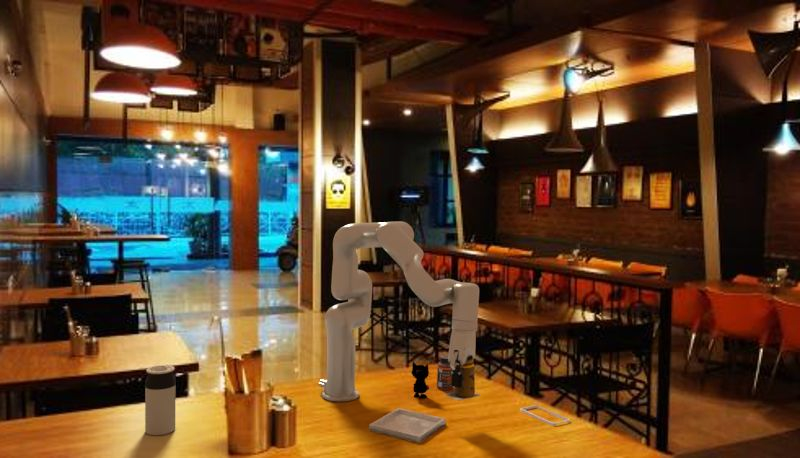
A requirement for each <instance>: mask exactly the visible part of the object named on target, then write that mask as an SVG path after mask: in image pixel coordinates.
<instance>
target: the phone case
mask: <svg viewBox="0 0 800 458" xmlns="http://www.w3.org/2000/svg"><path fill="white" fill-rule="evenodd" d="M532 409H539V410H544V411H546V412H548V414H550V415H552V416H553V417H556V418H560V419H562V420H561V421H557V422H553V421H550V420H547V419H546V418H543V417H542V416H539V415H536V414H534V413H532V412H531V411H528V410H532ZM519 410H520V413H523V414H525V415H528V416H530V417H532V418H534V419H537V420H539V421H541V422H543V423H545V424H547V425H550V426H551V427H557V426H558V424H562V423H567V424H568V423H569V424H570V423H571V422H570V421H571V420H570V418H568V417H565V416H563V415H561V414H558V413H556V412H554V411H551V410H549V409H547V408H544V407H542V406H539V405H536V404H534V405H529V406H525V407H520V409H519Z"/></svg>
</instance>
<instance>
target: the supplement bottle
mask: <svg viewBox="0 0 800 458" xmlns="http://www.w3.org/2000/svg"><path fill="white" fill-rule="evenodd" d="M448 356H449V355H440V361H438V363H437V370H436V371H437V373H436V387H437V389H438V390H442V391H450V390H452V389H453V388H454V386H452V385H451V381H452V373H451V371H452V370H451V366H450V363H449V361H448Z"/></svg>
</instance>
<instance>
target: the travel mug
mask: <svg viewBox="0 0 800 458" xmlns="http://www.w3.org/2000/svg"><path fill="white" fill-rule="evenodd" d="M175 369H176V368H175V366H173V365H170V364H169V365H168V364H161V365H154V366H150V367H148V368H146V369H145V370H146V373H147V377H146V379H145V381H144V382H145V383H144V385H145V386H144V388H145V391H144V393H145V396H144V397H145V399H144V400H145V402H144V405H145V406H144V407H145V409H144V410H145V411H144V413H145V414H144V415H145V416H144V419H145V420H144V421H145V425H144V430H145V431H144V433H145V434H148V435H149V436H154V437H155V436H164V435H168V434H170V433H172V432H173V431H175V430H176V382H177V381H176V376H175V375H174V372H175Z"/></svg>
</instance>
